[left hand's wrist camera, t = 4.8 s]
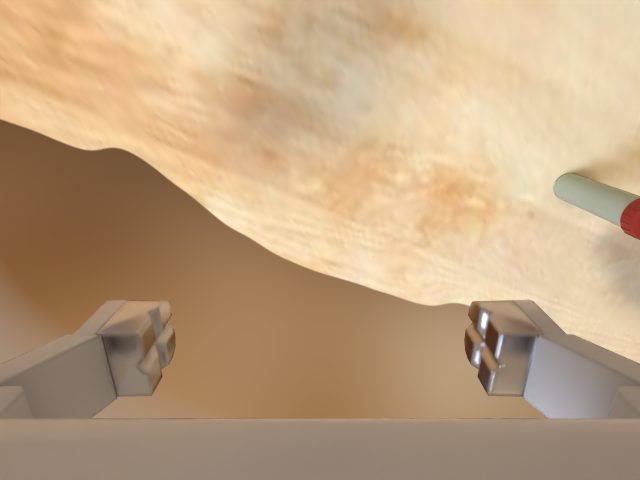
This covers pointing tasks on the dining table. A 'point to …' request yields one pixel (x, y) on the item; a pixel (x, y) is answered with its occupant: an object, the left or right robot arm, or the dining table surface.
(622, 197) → the green cylinder
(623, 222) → the lid
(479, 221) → the dining table surface
